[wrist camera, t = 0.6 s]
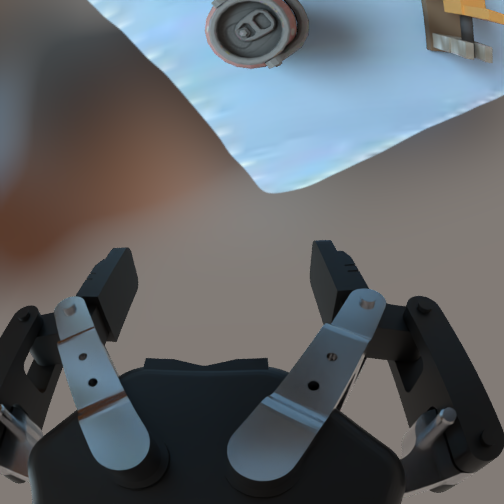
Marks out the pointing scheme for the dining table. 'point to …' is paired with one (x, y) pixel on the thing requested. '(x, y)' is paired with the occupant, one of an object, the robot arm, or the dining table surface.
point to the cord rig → (452, 32)
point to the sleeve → (473, 10)
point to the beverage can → (256, 31)
